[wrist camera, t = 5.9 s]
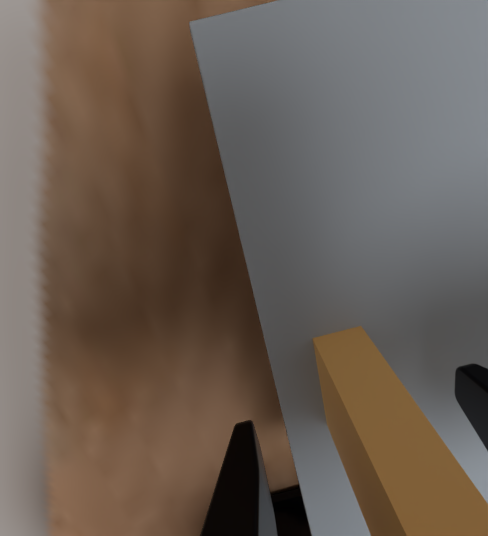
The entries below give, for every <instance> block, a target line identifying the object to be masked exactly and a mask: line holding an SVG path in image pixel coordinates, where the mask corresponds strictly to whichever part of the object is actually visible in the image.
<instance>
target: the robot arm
mask: <svg viewBox="0 0 488 536" xmlns="http://www.w3.org/2000/svg"><path fill="white" fill-rule="evenodd" d="M454 392H455V397H456V400H457V402H458V404H459V405H460V407H461V409H462V410H463V412H464V414H465V415H466V417H467V418H468V420H469V422H470V423H471V425H472V427H473V428H474V430H475V431H476V433H477V435H478V436H479V438H480V440H481V441H482V443H483V444H484V446H485V448H486V449H487V451H488V369H487V368H485V367H483V366H481V365H478V364H475V363H471V364H467V365H463V366H459V367H457V369H456V371H455V390H454ZM200 536H312V535H311V531H310V527H309V523H308V519H307V515H306V510H305V506H304V502H303V498H302V494H301V490H300V488H299V489H295V490H291V491H287V492H283V493H280V494H276V495H272V496H271V495H270V491H269V486H268V481H267V476H266V471H265V466H264V462H263V457H262V452H261V448H260V444H259V440H258V437H257V434H256V430H255V427H254V424H253V422H252V421H251V420H248V421H244V422H241V423H237V424H236V425H235V426H234V429H233V432H232V435H231V439H230V442H229V445H228V448H227V451H226V455H225V458H224V461H223V464H222V467H221V470H220V474H219V477H218V480H217V483H216V486H215V490H214V493H213V496H212V499H211V502H210V505H209V509H208V512H207V515H206V518H205V521H204V525H203V528H202V531H201V534H200Z"/></svg>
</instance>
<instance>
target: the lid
mask: <svg viewBox="0 0 488 536" xmlns="http://www.w3.org/2000/svg"><path fill="white" fill-rule="evenodd" d="M189 24H190V32H191V36H192V40H193V44H194V49H195V53H196V57H197V61H198V65H199V69H200V74H201V78H202V82H203V86H204V90H205V94H206V99H207V103H208V107H209V111H210V115H211V119H212V123H213V128H214V132H215V136H216V140H217V144H218V148H219V153H220V157H221V161H222V165H223V169H224V173H225V178H226V182H227V186H228V190H229V194H230V198H231V203H232V207H233V211H234V215H235V219H236V223H237V227H238V232H239V236H240V240H241V244H242V248H243V252H244V257H245V261H246V265H247V269H248V273H249V277H250V282H251V286H252V290H253V294H254V298H255V302H256V307H257V311H258V315H259V319H260V323H261V327H262V332H263V336H264V340H265V344H266V348H267V352H268V356H269V361H270V365H271V369H272V373H273V377H274V381H275V386H276V390H277V394H278V398H279V402H280V406H281V411H282V415H283V419H284V423H285V427H286V431H287V436H288V440H289V444H290V448H291V452H292V456H293V460H294V465H295V469H296V473H297V477H298V481H299V485H300V490H301V494H302V498H303V502H304V506H305V510H306V515H307V519H308V523H309V527H310V531H311V535H312V536H488V451H487V449H486V448H485V446H484V444H483V443H482V441H481V440H480V438H479V436H478V435H477V433H476V431H475V430H474V428H473V427H472V425H471V423H470V422H469V420H468V418H467V417H466V415H465V414H464V412H463V410H462V409H461V407H460V405H459V404H458V402H457V400H456V397H455V392H454V390H455V371H456V369H457V367H459V366H463V365H467V364H471V363H475V364H478V365H481V366H483V367H485V368H487V369H488V0H278V1H274V2H269V3H265V4H261V5H257V6H253V7H249V8H245V9H241V10H236V11H232V12H228V13H224V14H220V15H216V16H212V17H208V18H203V19H199V20H195V21H191V22H189Z"/></svg>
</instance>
